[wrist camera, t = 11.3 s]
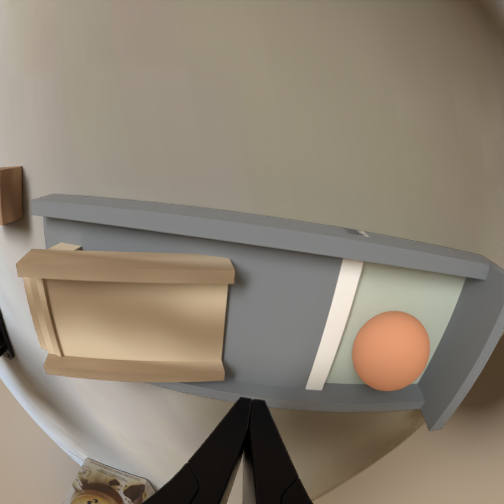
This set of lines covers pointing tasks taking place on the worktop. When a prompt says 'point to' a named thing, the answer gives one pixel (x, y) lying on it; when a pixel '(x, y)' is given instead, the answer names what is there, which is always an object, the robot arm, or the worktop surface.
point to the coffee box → (107, 486)
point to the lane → (309, 300)
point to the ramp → (128, 313)
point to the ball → (391, 351)
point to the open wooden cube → (10, 194)
